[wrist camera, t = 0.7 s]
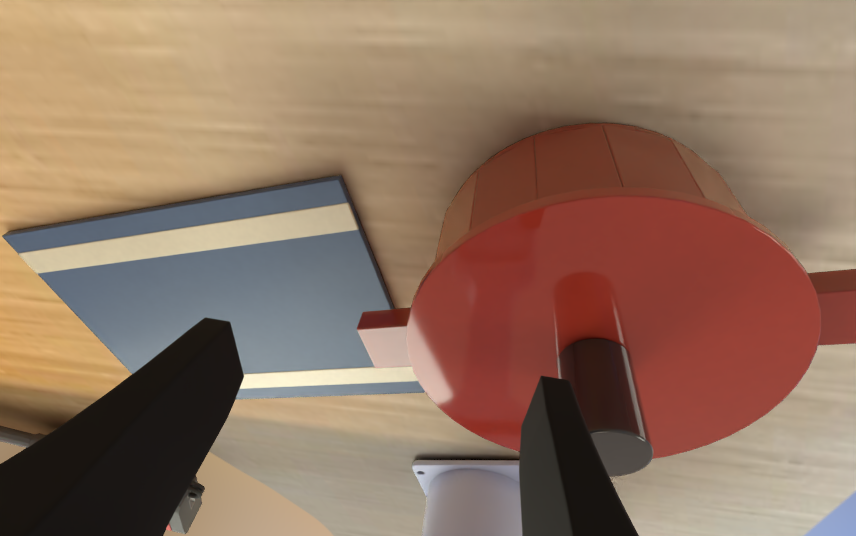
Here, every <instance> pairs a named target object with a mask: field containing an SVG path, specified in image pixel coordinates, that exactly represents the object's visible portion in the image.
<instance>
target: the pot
mask: <svg viewBox="0 0 856 536" xmlns="http://www.w3.org/2000/svg"><path fill="white" fill-rule="evenodd" d="M604 187H648V188H656V189H663V190H670V191H677V192H683V193H686V194H690V195H694V196H698V197H702V198H706V199H709V200H713V201H715V202H718V203H720V204H723V205H725V206H727V207H730V208H732V209H735V210H737V211H740V212H742V213H743V214H745V215H747V214H746V213H745V211H744V210H743V208H742V207H741V205H740V204H739V202H738V201H737V199H736V198H735V196H734V195H733V193H732V192H731V190H730V189H729V187H728V186H727V184H726V183H725V181H724V180H723V178H722V177H721V175H720V174H719V173H718V172H717V171H716V170H714V169H713V168H712V167H710V166H709V165H708V164H707V163H706V162H705V161H704V160H703V159H701V158H700V157H699V156H698V155H697V154H696V153H694V152H693V151H692V150H690V149H689V148H687V147H686V146H684V145H682V144H681V143H679V142H677V141H676V140H674V139H672V138H669V137H667V136H664V135H662V134H659V133H657V132H654V131H650V130H647V129H643V128H639V127H635V126H629V125H621V124H613V123H587V124H579V125H570V126H564V127H560V128H556V129H551V130H547V131H544V132H541V133H538V134H535V135H533V136H530V137H527V138H525V139H522V140H520V141H518V142H517V143H515V144H513V145H511V146H509V147H507V148H505V149H503V150H502V151H500V152H499V153H497V154H496V155H494V156H493V157H491V158H490V159H488V160H487V161H486V162H485V163H484V164H483V165H482V166H481V167H479V168H478V169H477V170H476V171H475V172H474V173H473V174H472V175H471V176H470V177H469V179H468V180H467V181H466V182H465V183H464V184H463V185H462V187H461V188H460V190H459V192H458V193H457V195H456V196H455V198H454V199H453V201H452V203H451V205H450V207H449V208H448V209H447V211H446V213H445V217H444V222H443V226H442V231H441V236H440V240H439V245H438V249H437V254H436V259H435V261H436V260H437V259H438V258H439V257H440V256H441V255H442V253H443V252H444V251H445V250H446V249H447V248H448V247H449V246H450V245H452V244H453V243H454V242H455V241H457V240H458V239H459V238H461V237H462V236H463V235H464V234H466V233H467V232H468V231H470V230H471V229H473V228H475V227H476V226H478V225H480V224H481V223H483V222H485V221H486V220H488V219H490V218H491V217H493V216H496V215H498V214H500V213H502V212H505V211H507V210H509V209H511V208H514V207H516V206H518V205H521V204H524V203H527V202H530V201H534V200H537V199H540V198H543V197H546V196H550V195H555V194H560V193H565V192H571V191H576V190H581V189H592V188H604ZM747 216H748V215H747ZM807 274H808V276H809V278H810V280H811V281H812V283H813V285H814V287H815V289H816V293H817V297H818V301H819V305H820V309H821V332H820V337H819V341H818V345H835V344H854V343H856V269H850V270H838V271H827V272H815V273H807ZM410 309H411V308H400V309H389V310H377V311H366V312H362V315H361V318H360V320H359V323H358V326H357V331H358V333H359V335H360V337H361V340H362V342H363V344H364V346H365V348H366V350H367V352H368V354H369V356H370V358H371V360H372V362H373V365H374V367H375V368H393V367H412V366H411V363H410V359H409V356H408V350H407V342H406V333H407V321H408V317H409V313H410Z"/></svg>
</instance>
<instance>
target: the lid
mask: <svg viewBox="0 0 856 536" xmlns="http://www.w3.org/2000/svg"><path fill="white" fill-rule="evenodd" d="M820 332H821V309H820V305H819V301H818V297H817V293H816V289H815V287H814V285H813V283H812V281H811V280H810V278H809V276H808V274H807V272H806V270H805V269H804V267H803V266H802V264H801V263H800V262H799V260H798V259H797V258H796V257H795V255H794V254H793V253H792V252H791V250H790V249H789V248H788V247H787V246H786V244H785V243H784V242H783V241H782V240H780V239H779V238H778V237H777V236H776V235H774V234H773V233H772V232H771V231H770V230H769V229H767V228H766V227H765V226H763V225H762V224H760V223H758V222H757V221H755V220H753V219H752V218H750V217H748V216H747V215H745V214H743V213H742V212H740V211H737V210H735V209H732V208H730V207H727V206H725V205H723V204H720V203H718V202H715V201H713V200H709V199H706V198H702V197H698V196H694V195H690V194H686V193H683V192H677V191H670V190H663V189H656V188H648V187H604V188H592V189H581V190H576V191H571V192H565V193H560V194H555V195H550V196H546V197H543V198H540V199H537V200H534V201H530V202H527V203H524V204H521V205H518V206H516V207H514V208H511V209H509V210H507V211H505V212H502V213H500V214H498V215H496V216H493V217H491V218H490V219H488V220H486V221H485V222H483V223H481V224H480V225H478V226H476V227H475V228H473V229H471V230H470V231H468V232H467V233H466V234H464V235H463V236H462V237H461V238H459V239H458V240H457V241H455V242H454V243H453V244H452V245H450V246H449V247H448V248H447V249H446V250H445V251H444V252H443V253H442V255H441V256H440V257H439V258H438V259H437V260H436V261H435V262H434V263H433V264H432V266H431V267H430V269H429V270H428V272H427V273H426V274H425V276H424V277H423V279H422V280H421V282H420V285H419V287H418V289H417V291H416V293H415V295H414V298H413V302H412V305H411V309H410V313H409V317H408V321H407V333H406V342H407V350H408V356H409V359H410V363H411V366H412V369H413V372H414V374H415V375H416V377H417V379H418V381H419V383H420V385H421V386H422V388H423V389H424V391H425V392H426V393H427V395H428V396H429V398H430V399H431V400H432V401H433V402H434V403H435V404H436V405H437V406H438V407H439V408H440V409H441V410H442V411H443V412H444V413H446V414H447V415H448V416H449V417H450V418H452V419H453V420H454V421H455V422H457V423H459V424H460V425H462V426H463V427H465V428H466V429H468V430H469V431H471V432H473V433H475V434H477V435H479V436H481V437H482V438H484V439H487V440H489V441H491V442H494V443H496V444H498V445H501V446H504V447H507V448H510V449H513V450H516V451H519V452H520V441H521V426H522V423H523V421H524V418H525V416H526V413H527V410H528V408H529V405H530V403H531V400H532V397H533V395H534V392H535V390H536V387H537V384H538V382H539V379H540V377H541V376H547V377H553V378H559V379H565V380H569V382H570V383H571V384H572V386H573V389H574V392H575V395H576V398H577V401H578V404H579V406H580V409H581V412H582V414H583V417H584V419H585V422H586V425H587V427H588V429H589V432H590V434H591V437H592V439H593V442H594V444H595V446H596V449H597V451H598V453H599V456H600V458H601V460H602V462H603V464H604V466H605V469H606V471H607V473H608V475H609V476H622V475H627V474H631V473H634V472H637V471H639V470H641V469H643V468H644V467H646V466H647V465H648V464H649V463H650V462H651V460H652V459H654V458H661V457H666V456H670V455H674V454H679V453H683V452H687V451H690V450H693V449H696V448H699V447H702V446H706V445H709V444H711V443H713V442H716V441H718V440H721V439H723V438H725V437H728V436H730V435H732V434H734V433H736V432H738V431H740V430H741V429H743V428H745V427H747V426H749V425H750V424H752V423H754V422H755V421H757V420H758V419H760V418H761V417H763V416H764V415H766V414H767V413H768V412H769V411H771V410H772V409H773V408H774V407H775V406H777V405H778V404H779V403H780V402H782V401H783V400H784V399H785V398H786V396H787V395H788V394H789V393H790V392H791V391H792V390H793V389H794V388H795V387H796V386H797V384H798V383H799V381H800V380H801V379H802V377H803V376H804V374H805V373H806V371H807V370H808V368H809V366H810V364H811V361H812V359H813V357H814V355H815V353H816V350H817V346H818V341H819V337H820Z"/></svg>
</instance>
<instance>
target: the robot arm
mask: <svg viewBox="0 0 856 536" xmlns="http://www.w3.org/2000/svg"><path fill="white" fill-rule="evenodd" d="M243 378H244V374H243V370H242V366H241V362H240V358H239V354H238V350H237V346H236V342H235V338H234V335H233V331H232V327H231V323H230V322H229V321H224V320H218V319H212V318H206V317H205V318H203V319H202V320H201V321H199V322H198V323H197V324H196V325H194V326H193V327H192V328H190V329H189V330H188V331H187V332H185V333H184V334H183V335H182V336H180V337H179V338H178V339H177V340H175V341H174V342H173V343H172V344H170V345H169V346H168V347H167V348H165V349H164V350H163V351H162V352H160V353H159V354H158V355H157V356H155V357H154V358H153V359H152V360H150V361H149V362H148V363H146V364H145V365H144V366H143V367H141V368H140V369H139V370H137V371H136V372H135V373H133V374H132V375H131V376H129V377H128V378H127V379H126V380H124V381H123V382H122V383H120V384H119V385H118V386H116V387H115V388H114V389H112V390H111V391H110V392H108V393H107V394H106V395H104V396H103V397H101V398H100V399H99V400H97V401H96V402H94V403H93V404H91V405H90V406H89V407H87V408H86V409H84V410H83V411H82V412H80V413H79V414H77V415H76V416H75V417H73V418H72V419H70V420H69V421H67V422H66V423H64V424H63V425H61V426H60V427H58V428H57V429H55V430H54V431H52V432H51V433H49V434H48V435H46V436H45V437H43V438H42V439H40V440H39V441H37V442H36V443H34V444H32V445H31V446H29V447H28V448H26V449H24V450H23V451H21V452H20V453H18V454H16V455H15V456H13V457H11V458H10V459H8V460H7V461H5V462H3V463H1V464H0V536H163V534H164V532H165V530H166V528H167V526H168V524H169V522H170V520H171V518H172V516H173V514H174V512H175V511H176V509H177V507H178V505H179V503H180V501H181V500H182V498H183V496H184V494H185V493H186V491H187V489H188V487H189V485H190V484H191V482H192V480H193V478H194V477H195V475H196V473H197V471H198V469H199V468H200V466H201V464H202V462H203V461H204V459H205V457H206V455H207V453H208V452H209V450H210V448H211V446H212V445H213V443H214V441H215V439H216V437H217V436H218V434H219V432H220V430H221V428H222V427H223V425H224V423H225V421H226V419H227V417H228V415H229V413H230V410H231V408H232V406H233V403H234V401H235V399H236V396H237V394H238V391H239V389H240V386H241V383H242V381H243ZM412 469H413V471H414V473H415V475H416V477H417V479H418V481H419V483H420V485H421V487H422V489H423V491H424V493H425V495H426V497H427V502H426V509H425V516H424V522H423V529H422V536H639V535H638V533H637V532H636V530H635V528H634V526H633V524H632V522H631V520H630V518H629V516H628V514H627V512H626V510H625V508H624V506H623V504H622V502H621V500H620V498H619V496H618V494H617V492H616V490H615V488H614V486H613V484H612V482H611V479H610V477H609V475H608V473H607V471H606V469H605V466H604V464H603V462H602V460H601V458H600V456H599V453H598V451H597V449H596V446H595V444H594V442H593V439H592V437H591V434H590V432H589V429H588V427H587V425H586V422H585V419H584V417H583V414H582V412H581V409H580V406H579V404H578V401H577V398H576V395H575V392H574V389H573V386H572V384H571V383H570V382H569V380H565V379H559V378H553V377H547V376H541V377H540V379H539V382H538V384H537V387H536V390H535V392H534V395H533V397H532V400H531V403H530V405H529V408H528V410H527V413H526V416H525V418H524V421H523V423H522V426H521V441H520V460H415V461H413V464H412Z"/></svg>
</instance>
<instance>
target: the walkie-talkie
mask: <svg viewBox="0 0 856 536" xmlns="http://www.w3.org/2000/svg"><path fill="white" fill-rule="evenodd" d="M53 431H54V430H53ZM45 436H46V435H44V434H40V433H39V434H36V435H35V434H31V433H27V432H23V431H19V430H15V429H11V428H7V427H3V426H0V441H1V442H6V443H10V444H14V445H18V446H22V447H26V448H28V447H29V446H31V445H32V444H34V443H36V442H37V441H39V440H40V439H42V438H43V437H45ZM204 489H205V488H204V486H202V485H201V484H199V483H198V482H197V478H196V475H195V477H194V478H193V480H192V482H191V484H190V485H189V487H188V489H187V491H186V493H185V494H184V496H183V498H182V500H181V501H180V503H179V505H178V507H177V509H176V511H175V512H174V514H173V516H172V518H171V520H170V522H169V524H168V526H167V528H166V530H170V531H174V532H179V533H183V534H186V533H187V532H188V530H189V528H190V526H191V524H192V522H193V520H194V518H195V516H196V514H197V512H198V510H199V508H200V506H201V504H202V501H201V496H202V493H203V492H204Z"/></svg>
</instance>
